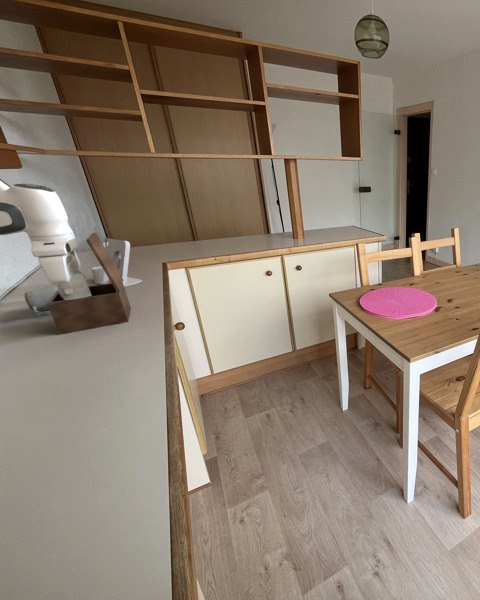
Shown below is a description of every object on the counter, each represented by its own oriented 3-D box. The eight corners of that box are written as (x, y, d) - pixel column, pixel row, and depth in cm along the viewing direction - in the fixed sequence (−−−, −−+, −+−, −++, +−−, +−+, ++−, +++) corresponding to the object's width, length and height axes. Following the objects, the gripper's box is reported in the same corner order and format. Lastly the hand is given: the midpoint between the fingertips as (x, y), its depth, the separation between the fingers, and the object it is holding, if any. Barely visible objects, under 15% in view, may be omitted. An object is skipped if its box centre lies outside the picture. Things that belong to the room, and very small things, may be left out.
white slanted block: (60, 297, 95) (50, 274, 92) (86, 291, 100) (78, 269, 97) (64, 301, 92) (55, 278, 89) (92, 295, 96) (84, 273, 94)
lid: (85, 240, 88) (89, 239, 89) (92, 233, 98) (95, 232, 99) (117, 292, 96) (120, 291, 96) (120, 280, 106) (123, 279, 106)
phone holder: (92, 282, 134) (77, 240, 127) (120, 276, 143) (107, 237, 136) (117, 288, 128) (102, 245, 121) (144, 281, 136) (131, 240, 130)
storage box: (59, 334, 91) (46, 303, 87) (69, 318, 101) (57, 289, 98) (128, 321, 100) (119, 293, 96) (130, 308, 110) (122, 281, 106)
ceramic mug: (33, 308, 107) (24, 287, 104) (67, 302, 113) (59, 282, 110) (30, 319, 100) (20, 296, 97) (66, 312, 106) (57, 291, 103)
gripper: (49, 239, 96) (65, 282, 101) (29, 252, 80) (50, 301, 85) (77, 237, 99) (92, 278, 104) (63, 249, 84) (81, 297, 89)
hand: (73, 289), depth 95 cm, fingers closed on white slanted block, 7 cm apart
